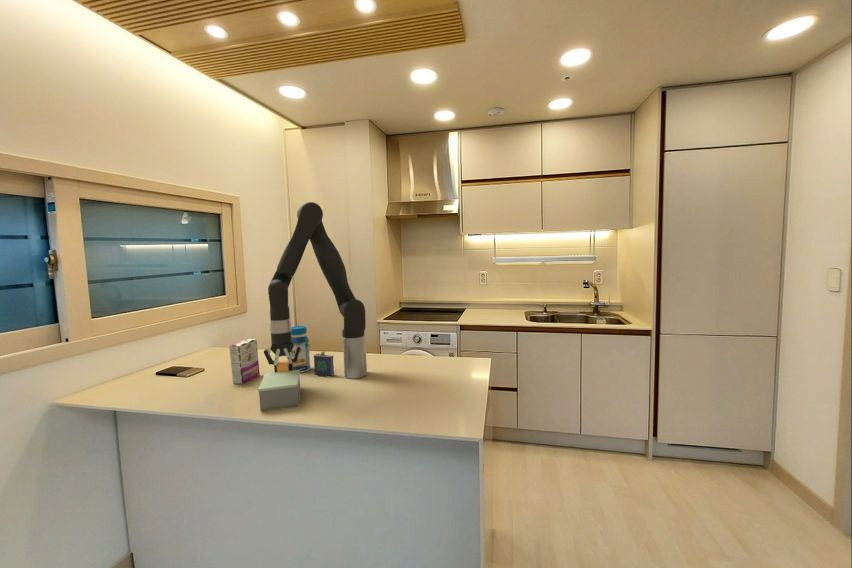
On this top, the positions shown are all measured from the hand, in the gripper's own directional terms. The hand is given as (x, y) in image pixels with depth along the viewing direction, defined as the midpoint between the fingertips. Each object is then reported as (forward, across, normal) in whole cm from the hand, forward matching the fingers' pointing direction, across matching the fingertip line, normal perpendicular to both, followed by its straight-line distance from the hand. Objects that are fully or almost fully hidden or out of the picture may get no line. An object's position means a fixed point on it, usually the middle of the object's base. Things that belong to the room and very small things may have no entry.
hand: (284, 372), depth 142 cm
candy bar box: (+6, +17, -16) cm, 25 cm away
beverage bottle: (+6, -5, -20) cm, 22 cm away
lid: (0, 0, +9) cm, 9 cm away
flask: (+6, -15, -10) cm, 19 cm away
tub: (+6, 0, +12) cm, 14 cm away
